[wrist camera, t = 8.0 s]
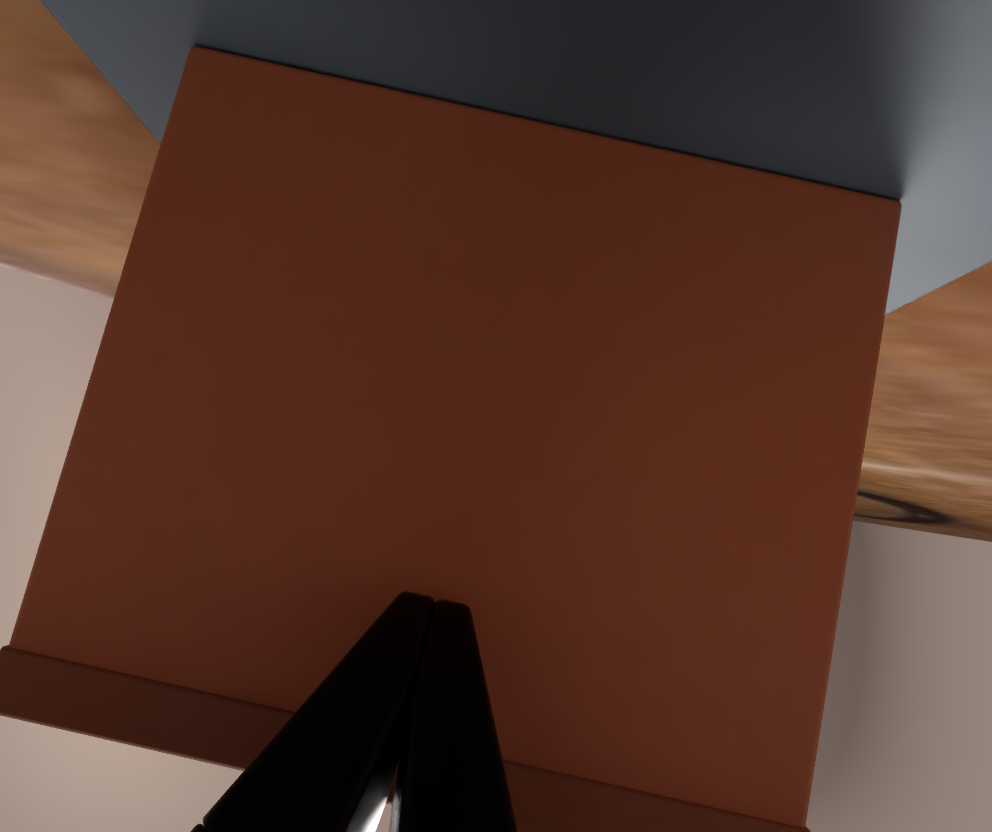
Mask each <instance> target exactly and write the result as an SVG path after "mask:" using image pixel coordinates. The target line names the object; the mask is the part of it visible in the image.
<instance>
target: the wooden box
mask: <svg viewBox="0 0 992 832" xmlns="http://www.w3.org/2000/svg"><path fill="white" fill-rule="evenodd" d="M901 209H902V205H901V203H900V202H899V201H896V200H892V199H887V198H883V197H878V196H874V195H869V194H864V193H860V192H855V191H851V190H846V189H842V188H837V187H833V186H828V185H824V184H819V183H815V182H810V181H806V180H801V179H797V178H792V177H787V176H783V175H778V174H774V173H769V172H765V171H760V170H756V169H751V168H747V167H742V166H738V165H733V164H729V163H724V162H720V161H715V160H710V159H706V158H701V157H697V156H692V155H688V154H683V153H679V152H674V151H670V150H665V149H661V148H656V147H652V146H647V145H643V144H638V143H634V142H629V141H624V140H620V139H615V138H611V137H606V136H602V135H597V134H593V133H588V132H584V131H579V130H575V129H570V128H566V127H561V126H557V125H552V124H547V123H543V122H538V121H534V120H529V119H525V118H520V117H516V116H511V115H507V114H502V113H498V112H493V111H489V110H484V109H480V108H475V107H470V106H466V105H461V104H457V103H452V102H448V101H443V100H439V99H434V98H430V97H425V96H421V95H416V94H412V93H407V92H403V91H398V90H394V89H389V88H384V87H380V86H375V85H371V84H366V83H362V82H357V81H353V80H348V79H344V78H339V77H335V76H330V75H326V74H321V73H317V72H312V71H307V70H303V69H298V68H294V67H289V66H285V65H280V64H276V63H271V62H267V61H262V60H258V59H253V58H249V57H244V56H240V55H235V54H230V53H226V52H221V51H217V50H212V49H208V48H203V47H199V46H192V47H191V48H190V50H189V53H188V57H187V60H186V63H185V67H184V70H183V73H182V76H181V80H180V83H179V86H178V90H177V93H176V96H175V99H174V103H173V106H172V109H171V113H170V116H169V119H168V123H167V126H166V129H165V132H164V136H163V139H162V142H161V146H160V149H159V152H158V156H157V159H156V162H155V165H154V169H153V172H152V175H151V179H150V182H149V185H148V189H147V192H146V195H145V198H144V202H143V205H142V208H141V212H140V215H139V218H138V222H137V225H136V228H135V231H134V235H133V238H132V241H131V245H130V248H129V251H128V255H127V258H126V261H125V264H124V268H123V271H122V274H121V278H120V281H119V284H118V288H117V291H116V294H115V297H114V301H113V304H112V307H111V311H110V314H109V317H108V320H107V324H106V327H105V331H104V334H103V337H102V340H101V344H100V347H99V350H98V353H97V357H96V360H95V363H94V367H93V370H92V374H91V377H90V380H89V383H88V387H87V390H86V393H85V397H84V400H83V403H82V407H81V410H80V413H79V416H78V419H77V423H76V426H75V430H74V433H73V436H72V439H71V443H70V446H69V449H68V452H67V456H66V459H65V462H64V466H63V469H62V472H61V476H60V479H59V482H58V485H57V489H56V492H55V495H54V499H53V502H52V505H51V509H50V512H49V515H48V519H47V522H46V525H45V529H44V532H43V535H42V539H41V542H40V545H39V548H38V551H37V555H36V558H35V562H34V565H33V568H32V571H31V575H30V578H29V581H28V585H27V588H26V591H25V594H24V598H23V601H22V604H21V608H20V611H19V614H18V617H17V621H16V624H15V627H14V631H13V634H12V637H11V641H10V644H9V645H7V646H3V647H2V648H1V650H0V715H1V716H5V717H10V718H14V719H19V720H23V721H27V722H32V723H36V724H40V725H45V726H49V727H54V728H58V729H62V730H67V731H71V732H76V733H80V734H85V735H88V736H94V737H98V738H102V739H106V740H110V741H115V742H119V743H124V744H128V745H133V746H137V747H141V748H145V749H150V750H154V751H158V752H163V753H167V754H172V755H176V756H180V757H185V758H189V759H194V760H198V761H202V762H207V763H211V764H215V765H220V766H224V767H228V768H233V769H237V770H242V771H245V769H246V768H247V767H248V766H249V765H250V764H251V762H252V761H253V760H254V759H255V758H256V757H257V756H258V754H259V753H260V752H261V751H262V750H263V749H264V748H265V746H266V745H267V744H268V743H269V742H270V741H271V740H272V738H273V737H274V736H275V735H276V734H277V733H278V732H279V730H280V729H281V728H282V727H283V726H284V725H285V724H286V722H287V721H288V720H289V719H290V718H291V717H292V716H293V714H294V713H295V712H296V711H297V710H298V709H299V708H300V706H301V705H302V704H303V703H304V702H305V701H306V700H307V698H308V697H309V696H310V695H311V694H312V693H313V691H314V690H315V689H316V688H317V687H318V686H319V685H320V683H321V682H322V681H323V680H324V679H325V678H326V677H327V675H328V674H329V673H330V672H331V671H332V670H333V669H334V667H335V666H336V665H337V664H338V663H339V662H340V661H341V659H342V658H343V657H344V656H345V655H346V654H347V653H348V651H349V650H350V649H351V648H352V647H353V646H354V645H355V643H356V642H357V641H358V640H359V639H360V638H361V637H362V635H363V634H364V633H365V632H366V631H367V630H368V629H369V627H370V626H371V625H372V624H373V623H374V622H375V620H376V619H377V618H378V617H379V616H380V615H381V614H382V612H383V611H384V610H385V609H386V608H387V607H388V606H389V604H390V603H391V602H392V601H393V600H394V599H395V598H396V596H397V595H399V594H400V593H401V592H403V591H410V592H415V593H419V594H424V595H428V596H431V597H432V598H433V599H434V601H435V602H436V601H437V600H439V599H446V600H450V601H455V602H459V603H464V604H466V605H468V606H469V608H470V610H471V613H472V617H473V622H474V627H475V631H476V636H477V641H478V646H479V650H480V655H481V660H482V664H483V669H484V674H485V679H486V683H487V688H488V693H489V698H490V702H491V707H492V712H493V716H494V721H495V726H496V731H497V735H498V740H499V745H500V750H501V754H502V759H503V764H504V768H505V773H506V778H507V783H508V787H509V792H510V797H511V801H512V806H513V811H514V816H515V820H516V825H517V830H518V832H810V830H809V829H808V828H807V827H806V826H805V824H806V818H807V812H808V805H809V799H810V793H811V786H812V779H813V773H814V766H815V760H816V753H817V747H818V740H819V735H820V728H821V722H822V715H823V709H824V703H825V696H826V690H827V683H828V677H829V670H830V664H831V657H832V650H833V644H834V639H835V632H836V626H837V619H838V613H839V606H840V600H841V594H842V587H843V581H844V574H845V568H846V562H847V555H848V549H849V542H850V536H851V529H852V523H853V517H854V510H855V504H856V497H857V491H858V485H859V478H860V472H861V465H862V459H863V452H864V446H865V440H866V433H867V427H868V420H869V414H870V408H871V401H872V395H873V388H874V382H875V375H876V369H877V363H878V356H879V350H880V343H881V337H882V331H883V324H884V318H885V311H886V305H887V298H888V292H889V286H890V279H891V273H892V266H893V260H894V254H895V247H896V241H897V234H898V228H899V221H900V215H901ZM434 605H435V604H434ZM398 764H399V762H398ZM397 770H398V766H397ZM397 770H396V773H395V777H394V780H393V783H392V786H391V789H390V792H389V795H388V798H387V801H386V804H390V805H392V802H393V794H394V788H395V781H396V775H397Z"/></svg>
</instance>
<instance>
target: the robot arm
mask: <svg viewBox="0 0 992 832" xmlns="http://www.w3.org/2000/svg"><path fill="white" fill-rule="evenodd" d="M434 604H435V605H434ZM398 762H399V764H398ZM397 766H398V770H397ZM396 770H397V775H396V781H395V788H394V794H393V802H392V811H391V818H390V828H389V832H518V830H517V825H516V820H515V816H514V811H513V806H512V801H511V797H510V792H509V787H508V783H507V778H506V773H505V768H504V764H503V759H502V754H501V750H500V745H499V740H498V735H497V731H496V726H495V721H494V716H493V712H492V707H491V702H490V698H489V693H488V688H487V683H486V679H485V674H484V669H483V664H482V660H481V655H480V650H479V646H478V641H477V636H476V631H475V627H474V622H473V617H472V613H471V610H470V608H469V606H468V605H466V604H464V603H459V602H455V601H450V600H446V599H439V600H437V601H436V602H435V601H434V599H433V598H432V597H431V596H428V595H424V594H419V593H415V592H410V591H403V592H401V593H400V594H399V595H397V596H396V598H395V599H394V600H393V601H392V602H391V603H390V604H389V606H388V607H387V608H386V609H385V610H384V611H383V612H382V614H381V615H380V616H379V617H378V618H377V619H376V620H375V622H374V623H373V624H372V625H371V626H370V627H369V629H368V630H367V631H366V632H365V633H364V634H363V635H362V637H361V638H360V639H359V640H358V641H357V642H356V643H355V645H354V646H353V647H352V648H351V649H350V650H349V651H348V653H347V654H346V655H345V656H344V657H343V658H342V659H341V661H340V662H339V663H338V664H337V665H336V666H335V667H334V669H333V670H332V671H331V672H330V673H329V674H328V675H327V677H326V678H325V679H324V680H323V681H322V682H321V683H320V685H319V686H318V687H317V688H316V689H315V690H314V691H313V693H312V694H311V695H310V696H309V697H308V698H307V700H306V701H305V702H304V703H303V704H302V705H301V706H300V708H299V709H298V710H297V711H296V712H295V713H294V714H293V716H292V717H291V718H290V719H289V720H288V721H287V722H286V724H285V725H284V726H283V727H282V728H281V729H280V730H279V732H278V733H277V734H276V735H275V736H274V737H273V738H272V740H271V741H270V742H269V743H268V744H267V745H266V746H265V748H264V749H263V750H262V751H261V752H260V753H259V754H258V756H257V757H256V758H255V759H254V760H253V761H252V762H251V764H250V765H249V766H248V767H247V768H246V769H245V771H244V772H243V773H242V774H241V775H240V776H239V777H238V779H237V780H236V781H235V782H234V783H233V784H232V785H231V787H230V788H229V789H228V790H227V791H226V792H225V793H224V795H223V796H222V797H221V798H220V799H219V800H218V801H217V803H216V804H215V805H214V806H213V807H212V808H211V809H210V811H209V812H208V813H207V814H206V815H205V816H204V818H203V825H202V824H198V825H196V826H195V827H194V828H193V830H192V831H191V832H375V831H376V828H377V825H378V822H379V819H380V817H381V814H382V811H383V809H384V806H385V803H386V801H387V798H388V795H389V792H390V789H391V786H392V783H393V780H394V777H395V773H396Z"/></svg>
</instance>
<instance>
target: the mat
mask: <svg viewBox="0 0 992 832" xmlns="http://www.w3.org/2000/svg"><path fill="white" fill-rule="evenodd" d="M41 2H42V3H43V4H44V5H45V6H46V8H47V9H48V10H49V11H50V12H51V14H52V15H53V16H54V17H55V18H56V20H57V21H58V22H59V23H60V24H61V26H62V27H63V28H64V29H65V30H66V31H67V33H68V34H69V35H70V36H71V37H72V39H73V40H74V41H75V42H76V43H77V45H78V46H79V47H80V48H81V49H82V51H83V52H84V53H85V54H86V55H87V57H88V58H89V59H90V60H91V61H92V63H93V64H94V65H95V66H96V67H97V69H98V70H99V71H100V72H101V73H102V75H103V76H104V77H105V78H106V79H107V81H108V82H109V83H110V84H111V85H112V87H113V88H114V89H115V90H116V91H117V93H118V94H119V95H120V96H121V97H122V99H123V100H124V101H125V102H126V103H127V105H128V106H129V107H130V108H131V109H132V111H133V112H134V113H135V114H136V115H137V117H138V118H139V119H140V120H141V121H142V122H143V124H144V125H145V126H146V127H147V128H148V130H149V131H150V132H151V133H152V134H153V136H154V137H155V138H156V139H157V140H158V142H159V143H160V144H161V142H162V139H163V136H164V132H165V129H166V126H167V123H168V119H169V116H170V113H171V109H172V106H173V103H174V99H175V96H176V93H177V90H178V86H179V83H180V80H181V76H182V73H183V70H184V67H185V63H186V60H187V57H188V53H189V50H190V48H191V47H192V46H199V47H203V48H208V49H212V50H217V51H221V52H226V53H230V54H235V55H240V56H244V57H249V58H253V59H258V60H262V61H267V62H271V63H276V64H280V65H285V66H289V67H294V68H298V69H303V70H307V71H312V72H317V73H321V74H326V75H330V76H335V77H339V78H344V79H348V80H353V81H357V82H362V83H366V84H371V85H375V86H380V87H384V88H389V89H394V90H398V91H403V92H407V93H412V94H416V95H421V96H425V97H430V98H434V99H439V100H443V101H448V102H452V103H457V104H461V105H466V106H470V107H475V108H480V109H484V110H489V111H493V112H498V113H502V114H507V115H511V116H516V117H520V118H525V119H529V120H534V121H538V122H543V123H547V124H552V125H557V126H561V127H566V128H570V129H575V130H579V131H584V132H588V133H593V134H597V135H602V136H606V137H611V138H615V139H620V140H624V141H629V142H634V143H638V144H643V145H647V146H652V147H656V148H661V149H665V150H670V151H674V152H679V153H683V154H688V155H692V156H697V157H701V158H706V159H710V160H715V161H720V162H724V163H729V164H733V165H738V166H742V167H747V168H751V169H756V170H760V171H765V172H769V173H774V174H778V175H783V176H787V177H792V178H797V179H801V180H806V181H810V182H815V183H819V184H824V185H828V186H833V187H837V188H842V189H846V190H851V191H855V192H860V193H864V194H869V195H874V196H878V197H883V198H887V199H892V200H896V201H899V202H900V203H901V205H902V209H901V215H900V221H899V228H898V234H897V241H896V247H895V254H894V260H893V266H892V273H891V279H890V286H889V292H888V298H887V305H886V311H885V315H886V314H888V313H890V312H892V311H894V310H896V309H898V308H900V307H902V306H904V305H906V304H908V303H910V302H912V301H914V300H916V299H918V298H920V297H922V296H924V295H926V294H928V293H930V292H931V291H933V290H935V289H937V288H939V287H941V286H943V285H945V284H947V283H949V282H951V281H953V280H955V279H957V278H959V277H961V276H963V275H965V274H967V273H969V272H971V271H973V270H975V269H977V268H979V267H981V266H982V265H984V264H986V263H988V262H990V261H992V0H41Z"/></svg>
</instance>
